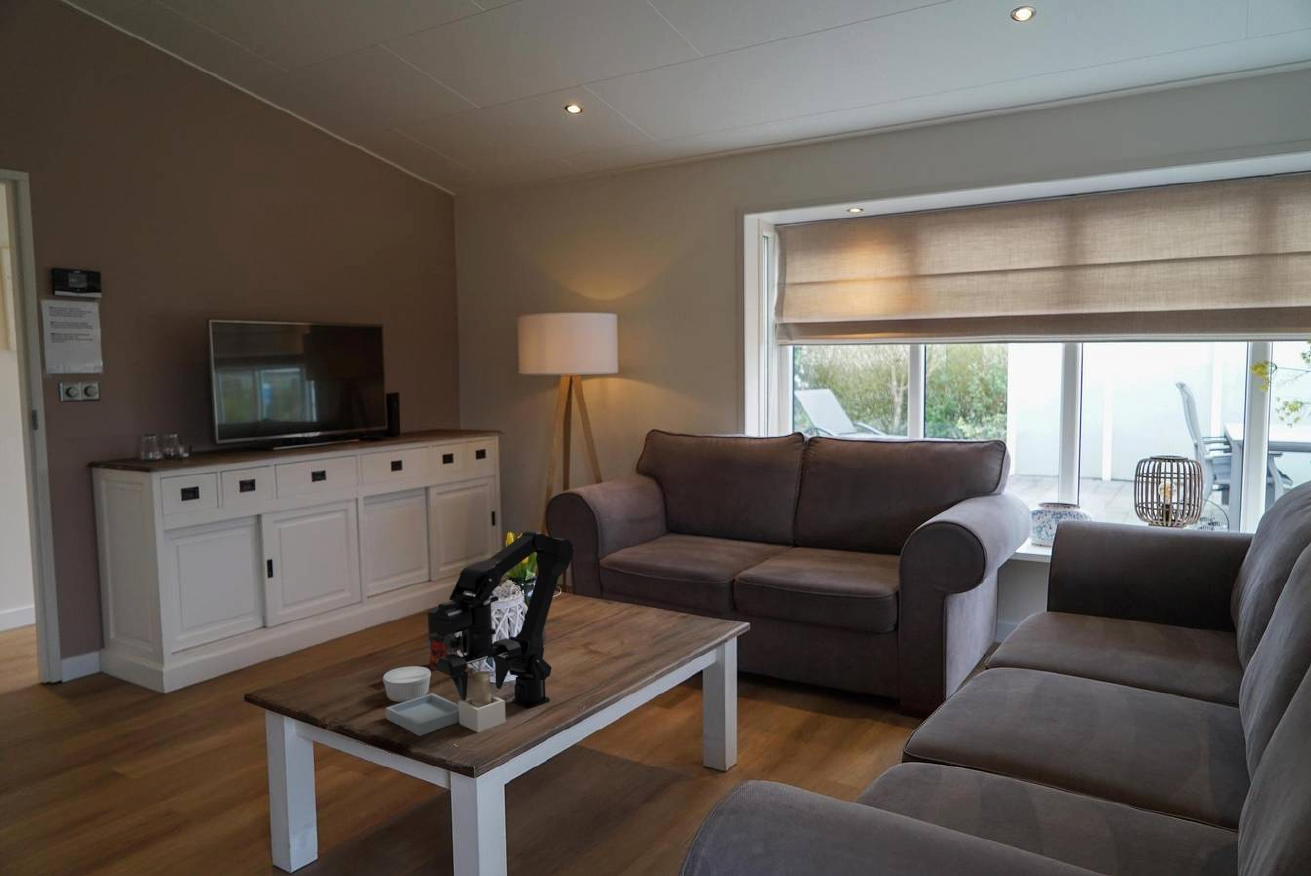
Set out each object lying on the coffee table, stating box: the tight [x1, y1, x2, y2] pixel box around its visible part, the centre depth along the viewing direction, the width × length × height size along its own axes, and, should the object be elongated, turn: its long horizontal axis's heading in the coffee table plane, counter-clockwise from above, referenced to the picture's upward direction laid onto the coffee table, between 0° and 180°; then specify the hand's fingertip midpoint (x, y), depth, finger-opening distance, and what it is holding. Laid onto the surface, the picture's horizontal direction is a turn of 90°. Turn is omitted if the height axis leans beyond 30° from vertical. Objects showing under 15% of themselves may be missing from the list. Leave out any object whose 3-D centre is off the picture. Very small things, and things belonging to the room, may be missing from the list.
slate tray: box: [385, 692, 459, 737], centre depth 200 cm, size 12×14×2 cm
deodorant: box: [427, 606, 454, 670], centre depth 235 cm, size 6×6×15 cm
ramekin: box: [382, 665, 432, 703], centre depth 215 cm, size 11×11×5 cm
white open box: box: [458, 694, 507, 733], centre depth 197 cm, size 7×7×5 cm
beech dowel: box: [470, 671, 492, 708], centre depth 197 cm, size 4×4×11 cm
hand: (481, 694), depth 197 cm, fingers open, 9 cm apart
